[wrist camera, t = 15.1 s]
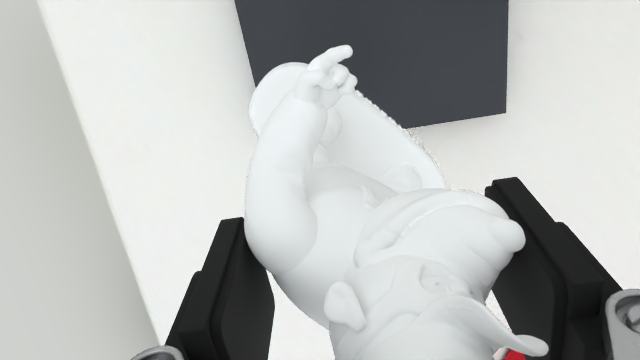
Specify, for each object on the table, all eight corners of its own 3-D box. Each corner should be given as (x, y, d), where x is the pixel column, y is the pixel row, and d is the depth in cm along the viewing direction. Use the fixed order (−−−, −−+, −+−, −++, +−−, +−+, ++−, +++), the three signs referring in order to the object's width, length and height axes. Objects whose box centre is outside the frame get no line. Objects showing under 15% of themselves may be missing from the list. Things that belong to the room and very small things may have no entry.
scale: (500, -146, 24) (526, -161, 21) (497, 105, 31) (517, 122, 28) (218, -88, 26) (204, -93, 22) (273, 140, 32) (267, 161, 29)
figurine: (496, 150, 18) (756, 436, 7) (386, 251, 20) (462, 582, 10) (323, -2, 15) (337, 102, 5) (219, 135, 18) (70, 414, 7)
